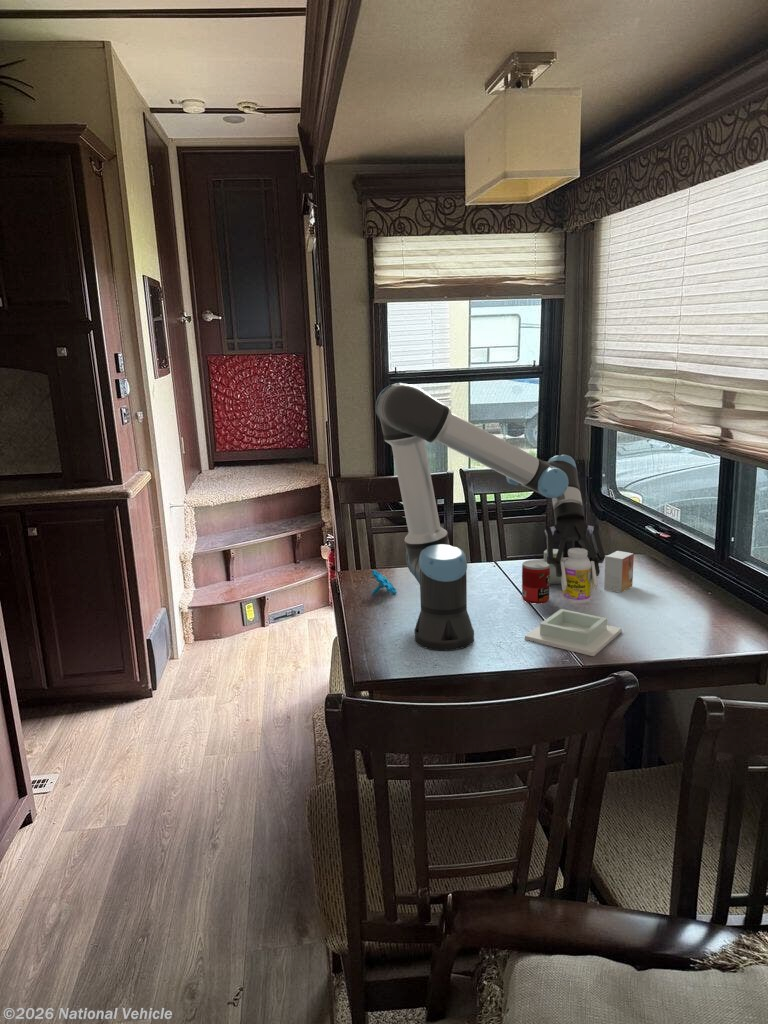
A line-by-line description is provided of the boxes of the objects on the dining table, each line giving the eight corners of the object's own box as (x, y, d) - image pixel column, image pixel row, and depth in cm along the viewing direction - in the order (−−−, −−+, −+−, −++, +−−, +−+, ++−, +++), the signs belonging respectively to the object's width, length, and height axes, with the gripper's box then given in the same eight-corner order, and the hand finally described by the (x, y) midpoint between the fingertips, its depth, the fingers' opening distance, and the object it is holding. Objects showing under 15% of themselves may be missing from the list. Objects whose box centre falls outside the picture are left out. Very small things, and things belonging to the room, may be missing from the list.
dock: (593, 656, 162) (594, 640, 162) (524, 639, 173) (524, 624, 173) (621, 631, 176) (622, 617, 175) (555, 617, 187) (556, 603, 186)
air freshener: (531, 579, 220) (531, 549, 218) (551, 575, 224) (551, 545, 221) (554, 588, 210) (555, 557, 208) (575, 583, 214) (575, 553, 212)
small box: (621, 593, 204) (622, 559, 202) (603, 589, 208) (604, 555, 206) (633, 586, 210) (634, 553, 208) (615, 582, 214) (616, 550, 211)
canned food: (542, 606, 196) (543, 569, 194) (517, 601, 201) (517, 564, 199) (553, 598, 202) (554, 562, 200) (528, 593, 207) (529, 558, 204)
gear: (397, 594, 205) (373, 571, 206) (383, 608, 206) (359, 585, 206) (399, 587, 216) (376, 565, 217) (386, 600, 217) (363, 578, 217)
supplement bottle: (560, 602, 172) (560, 552, 169) (566, 593, 177) (566, 545, 174) (587, 605, 168) (588, 555, 166) (592, 596, 174) (594, 548, 171)
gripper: (603, 514, 183) (617, 593, 171) (528, 516, 185) (537, 594, 172) (608, 499, 177) (624, 579, 164) (531, 501, 178) (541, 581, 166)
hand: (580, 587), depth 168 cm, fingers closed on supplement bottle, 7 cm apart
